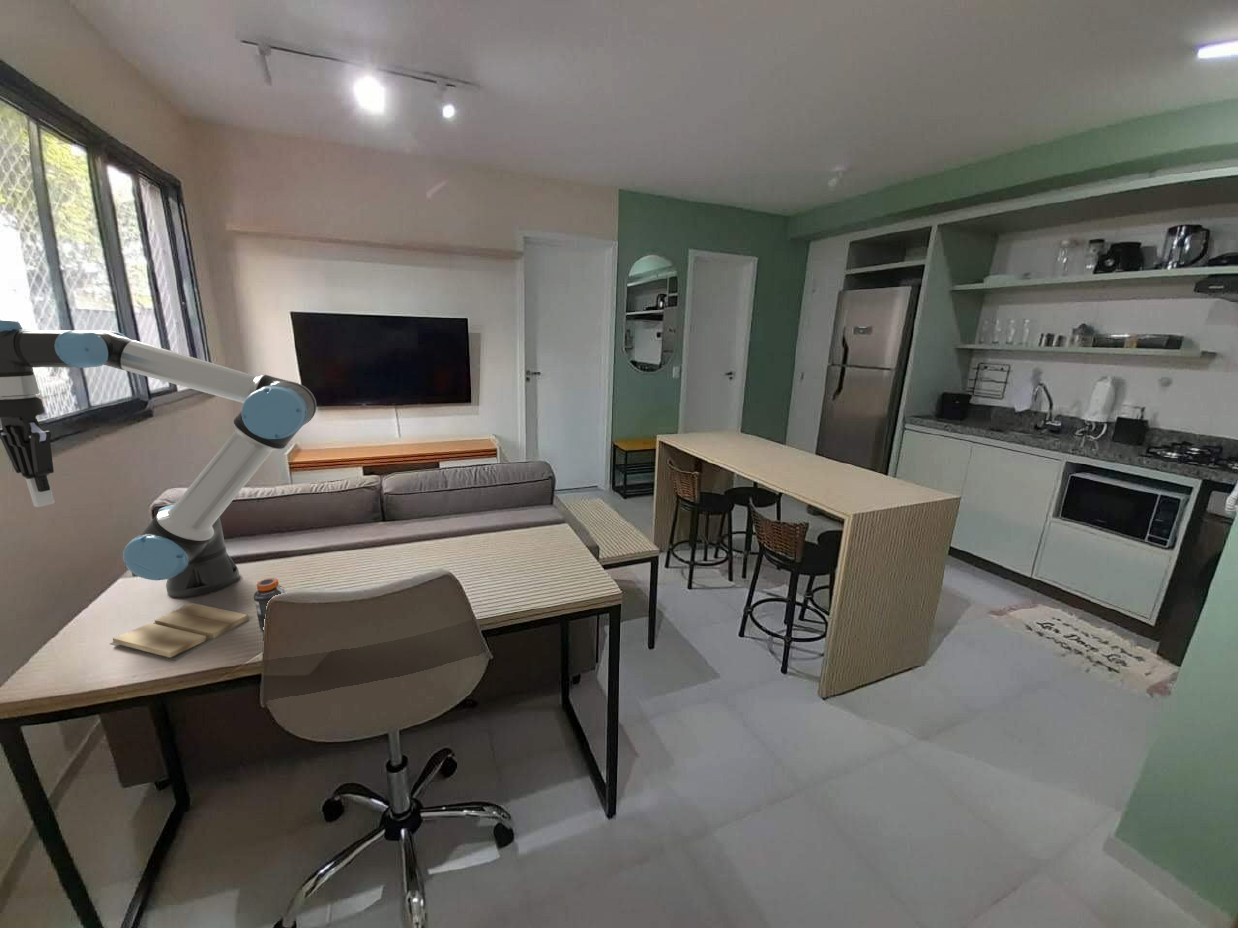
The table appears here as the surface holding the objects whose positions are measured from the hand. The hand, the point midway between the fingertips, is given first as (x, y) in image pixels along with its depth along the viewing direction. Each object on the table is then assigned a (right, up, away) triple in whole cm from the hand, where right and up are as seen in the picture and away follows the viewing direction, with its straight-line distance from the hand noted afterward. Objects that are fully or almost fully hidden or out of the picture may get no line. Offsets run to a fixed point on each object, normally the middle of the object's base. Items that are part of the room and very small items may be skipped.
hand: (44, 504), depth 107 cm
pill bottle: (+44, -29, +9) cm, 54 cm away
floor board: (+27, -29, +9) cm, 40 cm away
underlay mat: (+26, -29, +6) cm, 40 cm away
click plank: (+25, -30, +1) cm, 39 cm away
